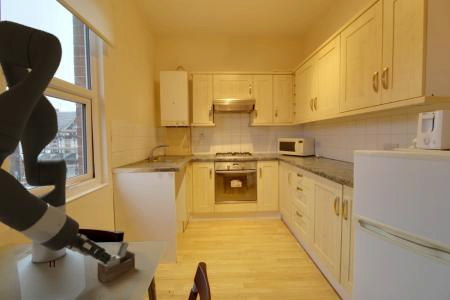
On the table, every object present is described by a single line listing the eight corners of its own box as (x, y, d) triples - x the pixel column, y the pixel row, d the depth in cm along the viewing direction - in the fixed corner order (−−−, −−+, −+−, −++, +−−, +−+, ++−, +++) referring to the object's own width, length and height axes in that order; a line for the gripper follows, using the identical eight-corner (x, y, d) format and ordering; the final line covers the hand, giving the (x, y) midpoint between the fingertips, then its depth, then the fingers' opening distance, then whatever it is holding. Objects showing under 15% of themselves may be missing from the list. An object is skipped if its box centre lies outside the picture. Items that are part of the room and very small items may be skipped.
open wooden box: (97, 278, 64) (97, 262, 64) (126, 263, 72) (126, 249, 72) (106, 282, 62) (106, 266, 62) (134, 267, 70) (134, 253, 70)
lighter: (107, 278, 63) (106, 250, 63) (103, 276, 64) (103, 248, 64) (129, 266, 69) (129, 241, 69) (125, 265, 70) (125, 239, 70)
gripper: (79, 217, 51) (124, 248, 61) (49, 208, 58) (94, 237, 68) (51, 249, 46) (105, 277, 56) (22, 236, 54) (75, 262, 64)
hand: (99, 255), depth 62 cm, fingers open, 8 cm apart
